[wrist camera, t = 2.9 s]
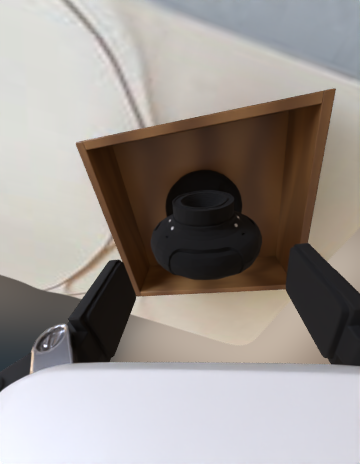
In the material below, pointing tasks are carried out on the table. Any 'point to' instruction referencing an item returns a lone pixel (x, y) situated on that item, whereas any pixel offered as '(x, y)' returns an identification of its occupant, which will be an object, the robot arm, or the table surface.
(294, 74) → the table surface
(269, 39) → the table surface
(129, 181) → the wooden box
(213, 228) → the webcam
